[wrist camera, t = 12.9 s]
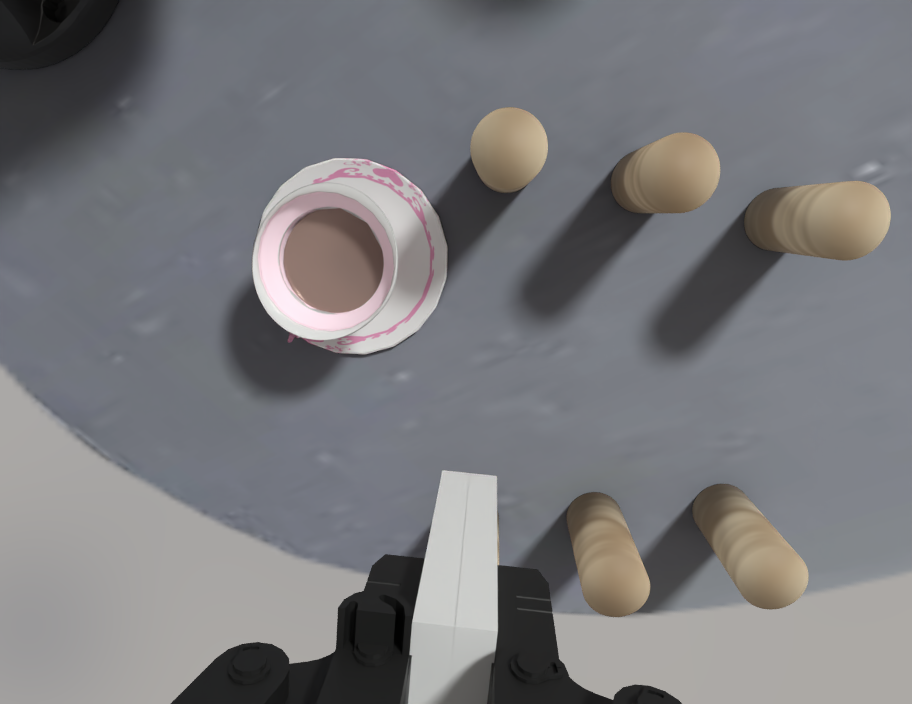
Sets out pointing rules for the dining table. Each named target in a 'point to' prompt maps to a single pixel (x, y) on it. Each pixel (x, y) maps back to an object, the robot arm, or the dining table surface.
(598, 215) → the dining table surface
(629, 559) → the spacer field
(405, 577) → the robot arm
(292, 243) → the teacup
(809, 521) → the dining table surface
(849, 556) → the dining table surface
